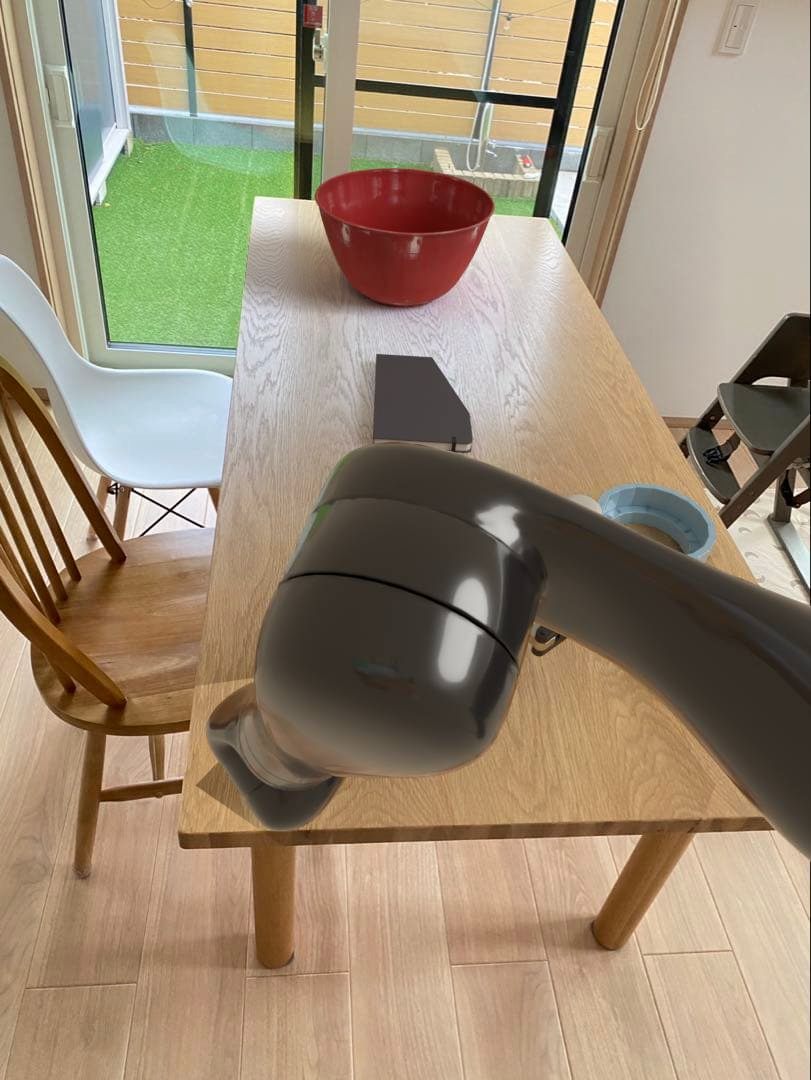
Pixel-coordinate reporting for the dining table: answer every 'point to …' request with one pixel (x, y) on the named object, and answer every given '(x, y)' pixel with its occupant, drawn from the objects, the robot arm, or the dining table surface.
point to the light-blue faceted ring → (662, 515)
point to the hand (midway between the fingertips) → (553, 550)
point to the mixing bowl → (403, 231)
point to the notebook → (418, 405)
